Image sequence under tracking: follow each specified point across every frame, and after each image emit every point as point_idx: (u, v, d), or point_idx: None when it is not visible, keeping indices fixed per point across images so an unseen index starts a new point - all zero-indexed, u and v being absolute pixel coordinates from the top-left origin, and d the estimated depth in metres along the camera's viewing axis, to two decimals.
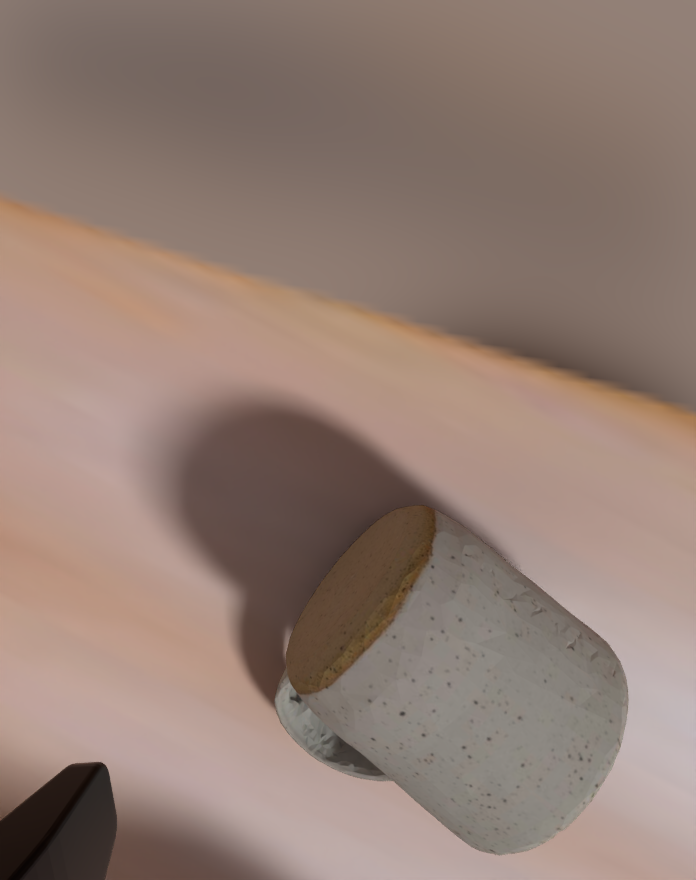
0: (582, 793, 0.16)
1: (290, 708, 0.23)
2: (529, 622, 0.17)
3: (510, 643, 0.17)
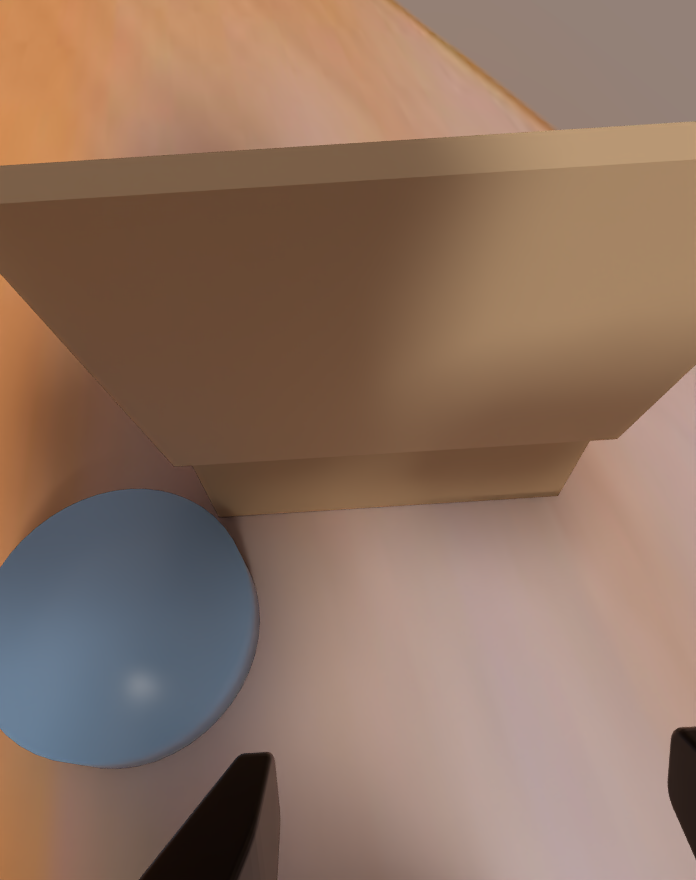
0: None
1: None
2: None
3: None
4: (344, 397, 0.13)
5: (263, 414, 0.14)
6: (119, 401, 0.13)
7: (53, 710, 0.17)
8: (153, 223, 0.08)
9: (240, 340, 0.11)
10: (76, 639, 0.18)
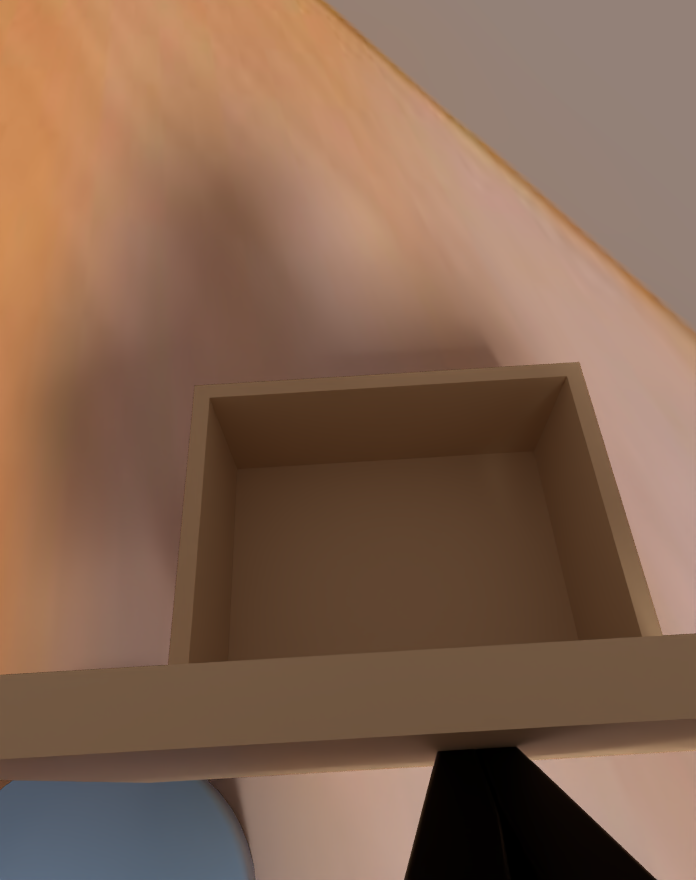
0: None
1: None
2: None
3: None
4: (369, 764, 0.10)
5: (262, 771, 0.11)
6: (67, 780, 0.10)
7: None
8: (83, 758, 0.05)
9: (228, 765, 0.08)
10: None
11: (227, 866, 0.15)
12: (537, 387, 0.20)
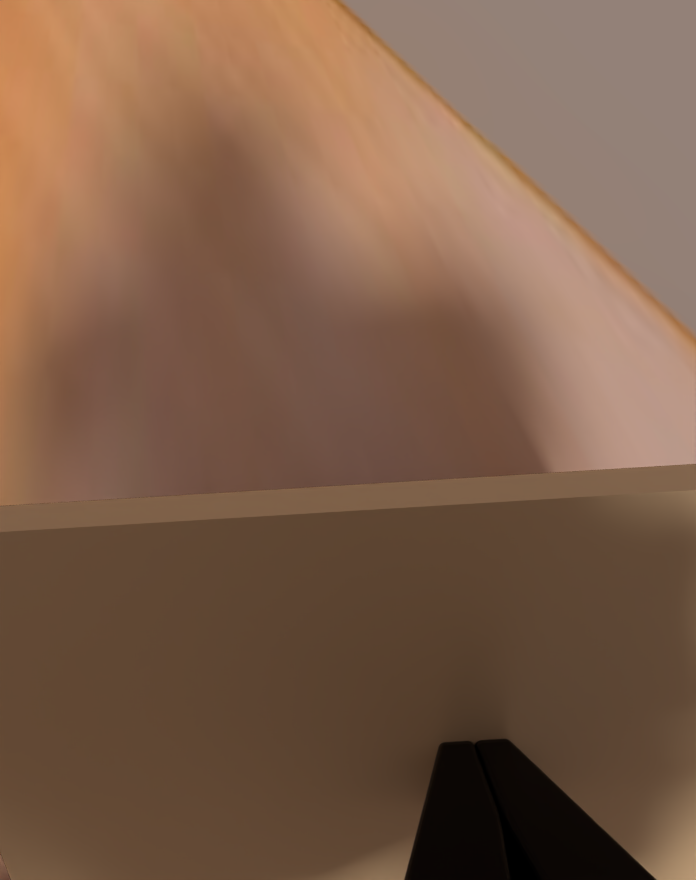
0: None
1: None
2: None
3: None
4: None
5: None
6: None
7: None
8: (132, 568, 0.06)
9: (225, 782, 0.08)
10: None
11: None
12: None
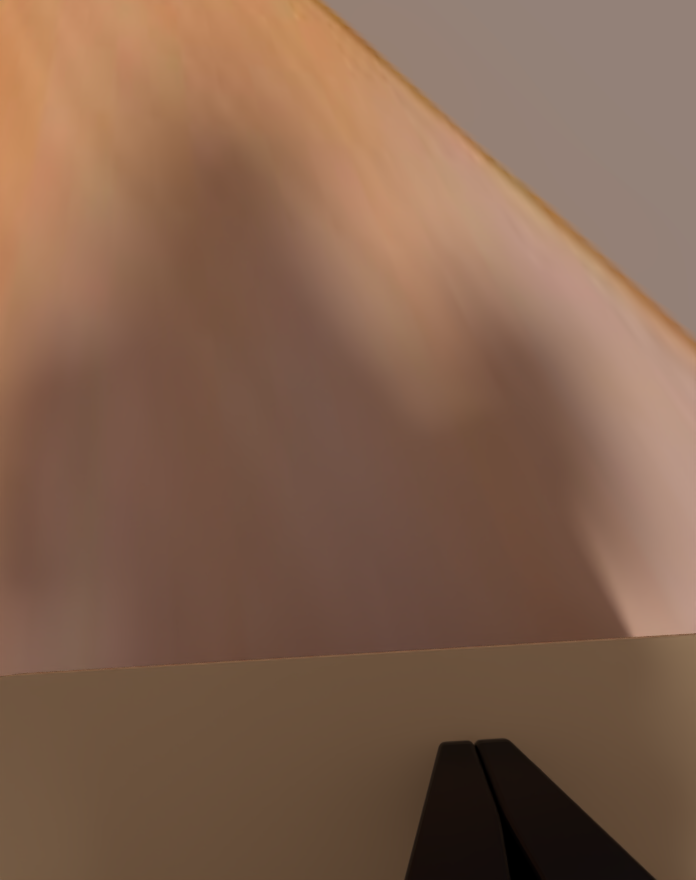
0: None
1: None
2: None
3: None
4: None
5: None
6: None
7: None
8: (185, 708, 0.08)
9: None
10: None
11: None
12: None
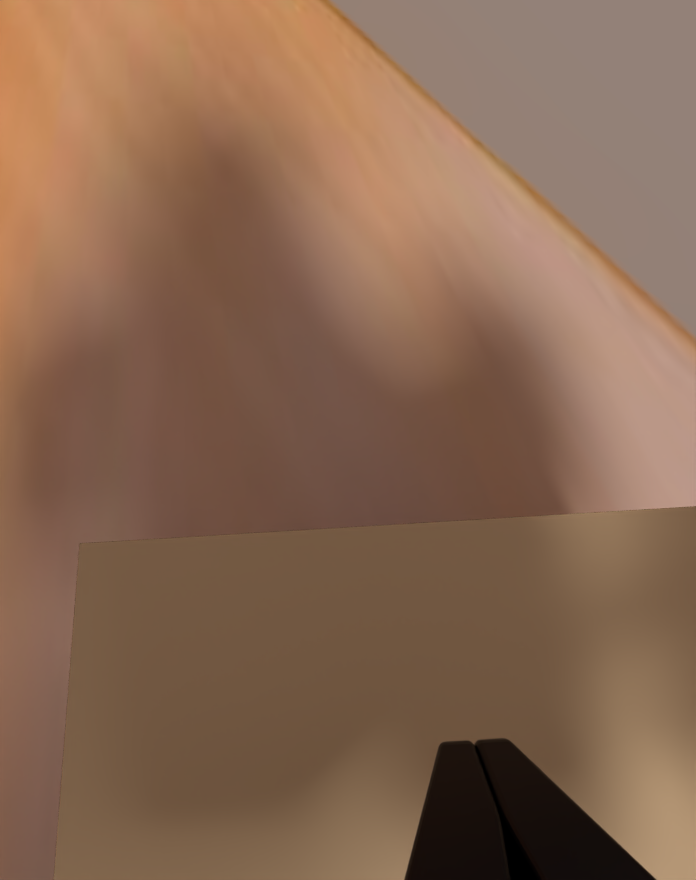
0: None
1: None
2: None
3: None
4: None
5: None
6: None
7: None
8: (220, 565, 0.11)
9: (255, 765, 0.10)
10: None
11: None
12: None
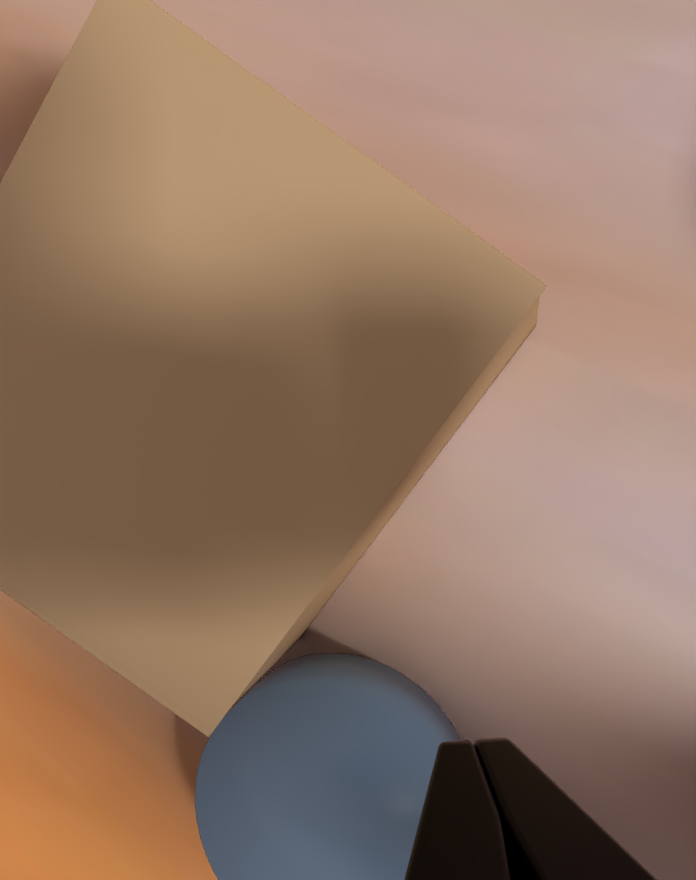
0: None
1: None
2: None
3: None
4: (181, 473, 0.13)
5: (160, 557, 0.13)
6: (54, 623, 0.14)
7: None
8: None
9: (38, 466, 0.13)
10: (325, 865, 0.18)
11: (364, 703, 0.17)
12: None
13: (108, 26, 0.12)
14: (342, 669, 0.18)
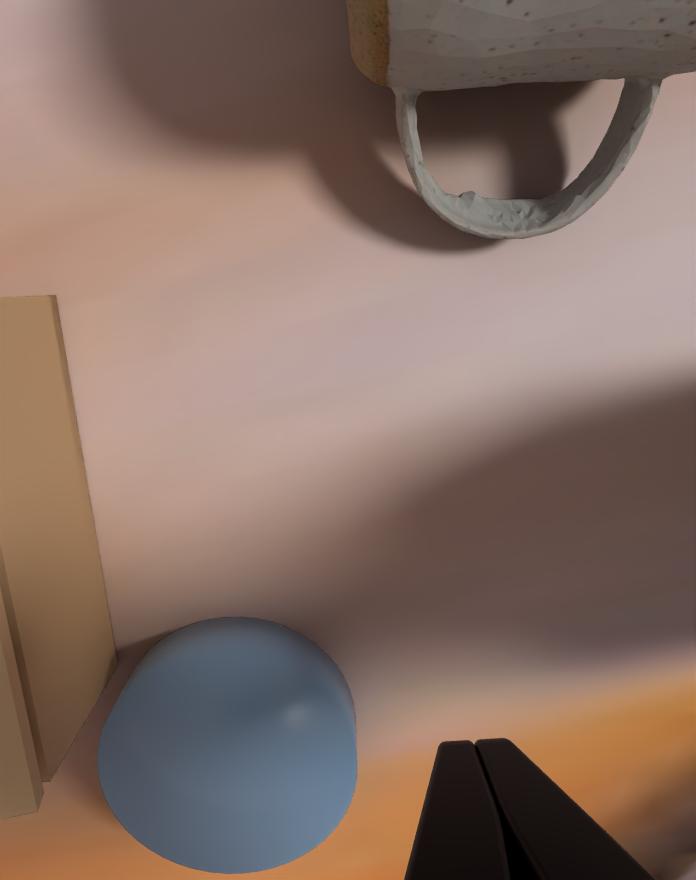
0: None
1: (452, 201, 0.16)
2: None
3: None
4: None
5: None
6: None
7: (316, 797, 0.20)
8: None
9: None
10: (256, 793, 0.20)
11: (176, 670, 0.18)
12: None
13: None
14: (153, 658, 0.20)
